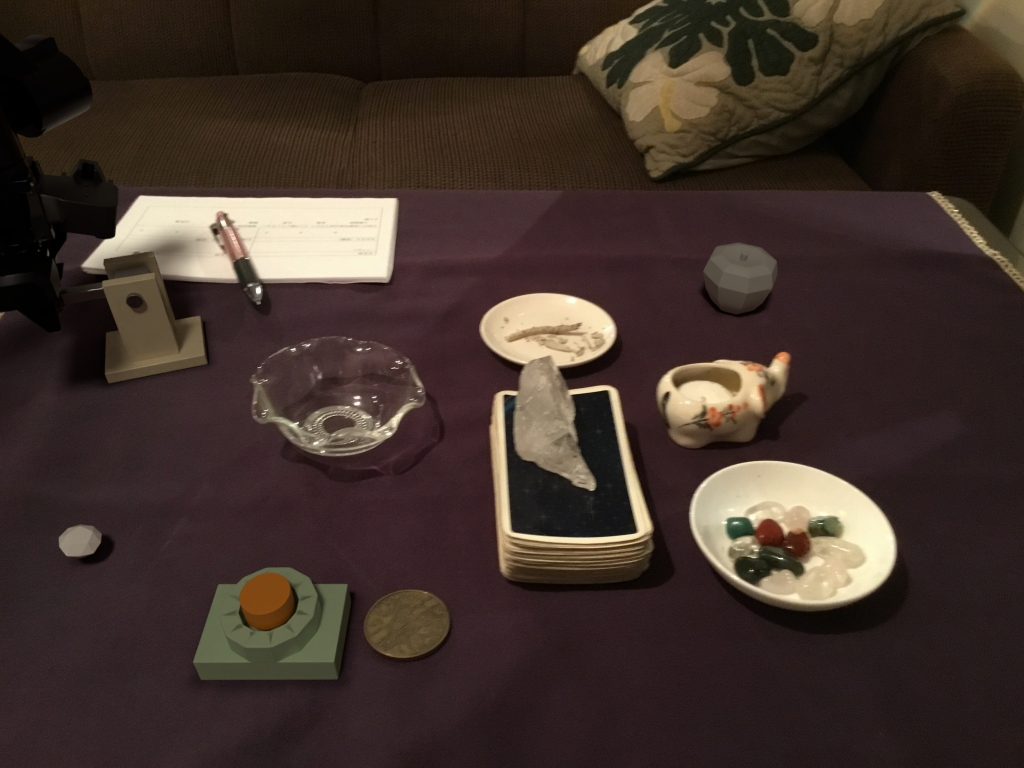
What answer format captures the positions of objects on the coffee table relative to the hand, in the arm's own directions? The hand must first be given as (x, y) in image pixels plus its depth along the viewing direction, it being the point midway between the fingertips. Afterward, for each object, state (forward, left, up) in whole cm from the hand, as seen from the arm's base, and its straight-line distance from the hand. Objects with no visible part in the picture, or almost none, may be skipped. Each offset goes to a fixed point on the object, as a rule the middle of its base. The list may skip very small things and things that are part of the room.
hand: (56, 321), depth 72 cm
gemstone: (+1, -25, -6) cm, 25 cm away
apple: (+66, -12, -6) cm, 68 cm away
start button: (+14, -36, -2) cm, 39 cm away
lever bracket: (+7, 0, -6) cm, 9 cm away
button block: (+14, -36, -6) cm, 39 cm away
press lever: (+4, 0, +1) cm, 4 cm away
